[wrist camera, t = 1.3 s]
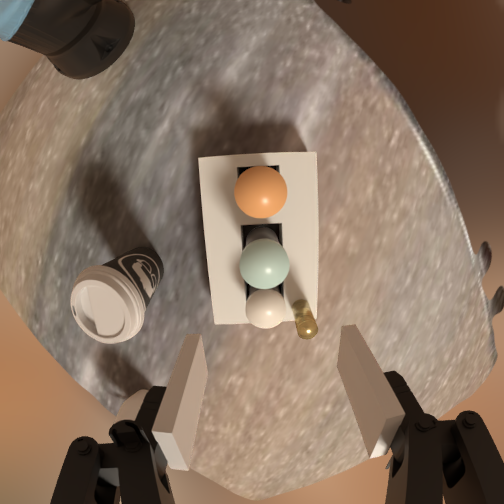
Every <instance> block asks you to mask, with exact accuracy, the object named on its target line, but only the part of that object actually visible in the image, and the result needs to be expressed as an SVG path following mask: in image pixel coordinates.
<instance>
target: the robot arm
mask: <svg viewBox="0 0 504 504" xmlns="http://www.w3.org/2000/svg"><path fill="white" fill-rule="evenodd" d="M134 27H135V20H134V16H133V13H132V12H131V10H130V9H129V8H128V7H127V6H126V5H125V4H124V3H122V2H121V1H119V0H0V38H1V39H2V40H3V41H9V42H12V43H15V44H18V45H20V46H23V47H26V48H28V49H31V50H34V51H36V52H39V53H41V54H43V55H46V56H47V58H48V59H49V60H50V62H51V63H52V64H53V65H54V67H55V68H56V70H57V71H58V72H60V73H61V74H62V75H65V76H67V77H70V78H72V79H85V78H89V77H92V76H94V75H97V74H99V73H100V72H102V71H104V70H105V69H106V68H108V67H109V66H110V65H112V64H113V63H114V62H115V61H116V60H117V59H118V58H119V57H120V55H121V54H122V53H123V52H124V50H125V49H126V47H127V46H128V44H129V42H130V40H131V38H132V35H133V32H134ZM337 368H338V371H339V373H340V376H341V379H342V381H343V384H344V387H345V389H346V392H347V395H348V398H349V400H350V403H351V406H352V409H353V411H354V414H355V417H356V420H357V423H358V426H359V428H360V431H361V434H362V437H363V440H364V443H365V446H366V449H367V452H368V455H369V458H374V457H378V456H382V455H386V454H387V452H388V450H389V448H390V447H391V450H392V452H393V455H392V457H391V459H390V461H389V462H388V464H387V466H386V469H388V468H389V467H390V472H389V480H388V488H387V495H386V502H385V504H443V496H444V500H445V503H446V504H504V463H503V460H502V458H501V456H500V454H499V452H498V450H497V447H496V445H495V443H494V441H493V439H492V437H491V435H490V433H489V431H488V429H487V427H486V425H485V423H484V422H483V420H482V418H481V417H480V415H479V414H478V413H476V412H474V411H463V412H461V413H460V414H459V415H458V416H457V418H456V419H455V420H445V421H438V420H437V419H436V418H435V417H434V416H432V415H430V414H425V413H424V412H423V410H422V408H421V407H420V405H419V403H418V402H417V400H416V398H415V396H414V395H413V393H412V391H410V388H409V387H408V385H407V383H406V382H405V380H404V378H403V377H402V376H401V375H400V374H398V373H397V372H396V371H390V372H385V373H383V372H382V370H381V368H380V366H379V364H378V363H377V361H376V359H375V357H374V356H373V354H372V352H371V350H370V349H369V347H368V345H367V344H366V342H365V340H364V338H363V337H362V335H361V333H360V332H359V330H358V328H357V326H356V325H347V326H342V328H341V338H340V346H339V355H338V362H337ZM207 377H208V371H207V366H206V360H205V355H204V349H203V343H202V337H201V334H187V335H186V337H185V340H184V343H183V345H182V348H181V350H180V353H179V356H178V358H177V361H176V364H175V366H174V369H173V372H172V375H171V377H170V380H169V383H168V386H167V387H163V386H153V387H152V388H151V389H150V390H149V391H148V392H147V393H146V395H145V398H144V400H143V403H142V405H141V407H140V409H139V412H138V414H137V416H136V419H135V421H133V420H121V421H118V422H116V423H115V424H113V425H112V427H111V428H110V430H109V436H110V437H111V439H112V440H113V442H114V443H108V444H98V443H97V442H96V441H95V440H94V439H93V438H91V437H88V436H87V437H86V436H82V437H79V438H77V439H75V440H74V441H73V442H72V443H71V445H70V447H69V449H68V452H67V455H66V458H65V460H64V463H63V466H62V469H61V472H60V475H59V477H58V480H57V484H56V487H55V490H54V493H53V496H52V499H51V503H50V504H119V502H120V496H121V502H122V504H175V502H174V498H173V494H172V491H171V487H170V483H169V478H168V475H167V473H166V471H165V470H166V466H167V463H168V465H169V466H170V468H171V469H178V470H187V471H189V467H190V462H191V456H192V451H193V446H194V441H195V436H196V431H197V426H198V421H199V416H200V411H201V406H202V401H203V396H204V391H205V386H206V382H207Z"/></svg>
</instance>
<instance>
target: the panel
mask: <svg viewBox="0 0 504 504" xmlns="http://www.w3.org/2000/svg"><path fill="white" fill-rule="evenodd" d="M198 160H199V175H200V188H201V201H202V212H203V223H204V234H205V244H206V254H207V263H208V272H209V281H210V290H211V298H212V306H213V314H214V321H215V324H242V323H250V322H249V320H248V319H247V317H246V312H245V309H246V301H247V299H248V296H247V282H246V281H245V280H244V279H243V277H242V275H241V272H240V268H239V264H240V257H241V254H242V252H243V250H244V237H243V225H253V224H272V223H279V240H280V245H282V246H283V248H284V249H285V251H286V253H287V255H288V258H289V264H290V266H289V272H288V274H287V277H286V278H285V279H284V281H283V282H282V283H281V295H282V297H283V298H284V301H285V305H286V315H285V317H284V319H283V321H295V320H294V315H293V311H292V305H293V303H294V302H295V301H297V300H300V299H303V300H306V301H307V302H308V303H309V305H310V308H311V311H312V313H313V316H314V319H317V295H318V181H317V157H316V152H279V153H256V154H239V155H225V156H213V157H203V158H198ZM255 166H276V171H277V172H279V173H280V174H281V176H282V177H283V178H284V180H285V182H286V185H287V199H286V202H285V204H284V206H283V207H282V209H281V210H280V211H279V212H278V213H276V214H275V215H273V216H271V217H267V218H254V217H251V216H249V215H247V214H245V213H244V212H243V211H242V210H241V209H240V208H239V206H238V205H237V203H236V200H235V196H234V188H235V184H236V181H237V179H238V178H239V176H240V175H239V167H255Z"/></svg>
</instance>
